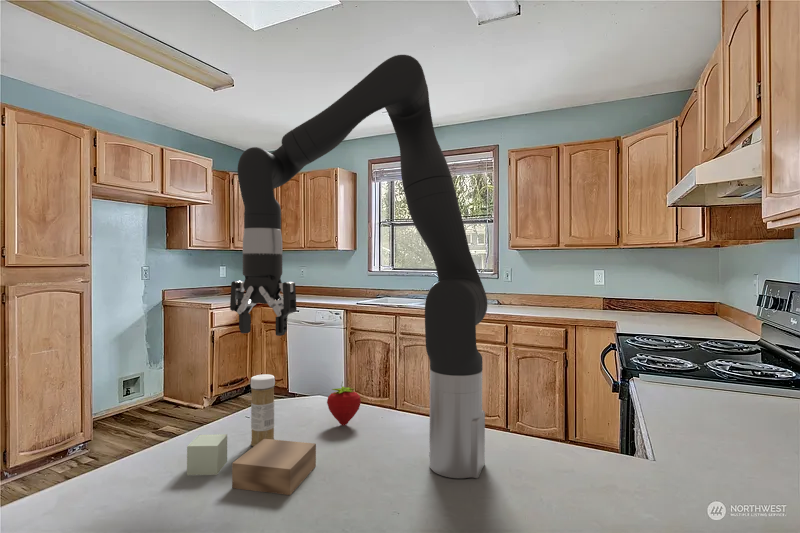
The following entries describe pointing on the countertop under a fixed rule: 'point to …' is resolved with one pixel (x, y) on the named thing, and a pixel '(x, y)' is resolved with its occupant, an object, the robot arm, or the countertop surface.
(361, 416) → the countertop surface
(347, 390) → the strawberry
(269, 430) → the sprinkles bottle
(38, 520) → the countertop surface
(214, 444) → the sage cube
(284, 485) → the walnut block
